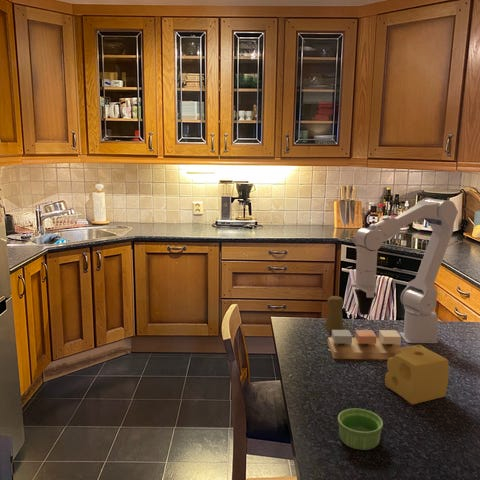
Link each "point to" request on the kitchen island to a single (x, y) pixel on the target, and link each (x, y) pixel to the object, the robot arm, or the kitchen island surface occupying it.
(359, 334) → the button terracotta
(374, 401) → the kitchen island surface
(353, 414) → the ramekin
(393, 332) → the button cream
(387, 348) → the button board
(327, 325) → the butternut squash
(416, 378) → the cheese
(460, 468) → the kitchen island surface
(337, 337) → the button slate
